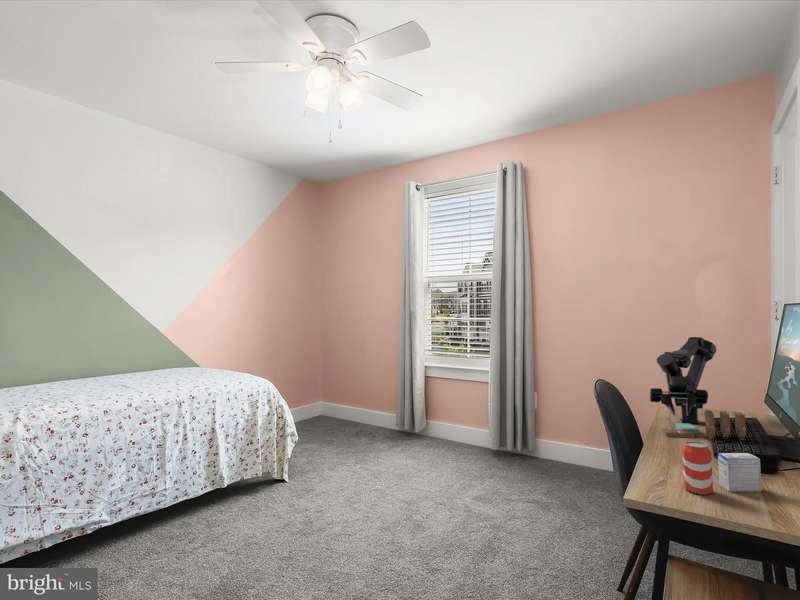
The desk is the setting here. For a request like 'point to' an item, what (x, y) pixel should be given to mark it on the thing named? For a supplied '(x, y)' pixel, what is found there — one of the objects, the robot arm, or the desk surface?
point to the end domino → (687, 427)
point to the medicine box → (739, 472)
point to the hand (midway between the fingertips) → (681, 415)
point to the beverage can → (697, 467)
